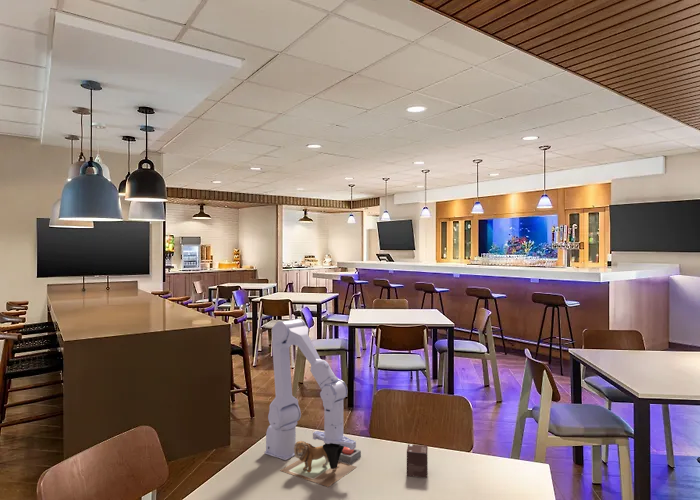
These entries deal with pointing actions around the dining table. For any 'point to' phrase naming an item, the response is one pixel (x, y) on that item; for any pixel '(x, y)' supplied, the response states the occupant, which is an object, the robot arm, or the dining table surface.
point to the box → (417, 460)
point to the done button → (347, 451)
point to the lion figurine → (309, 454)
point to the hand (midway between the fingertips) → (333, 467)
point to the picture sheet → (319, 471)
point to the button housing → (350, 456)
